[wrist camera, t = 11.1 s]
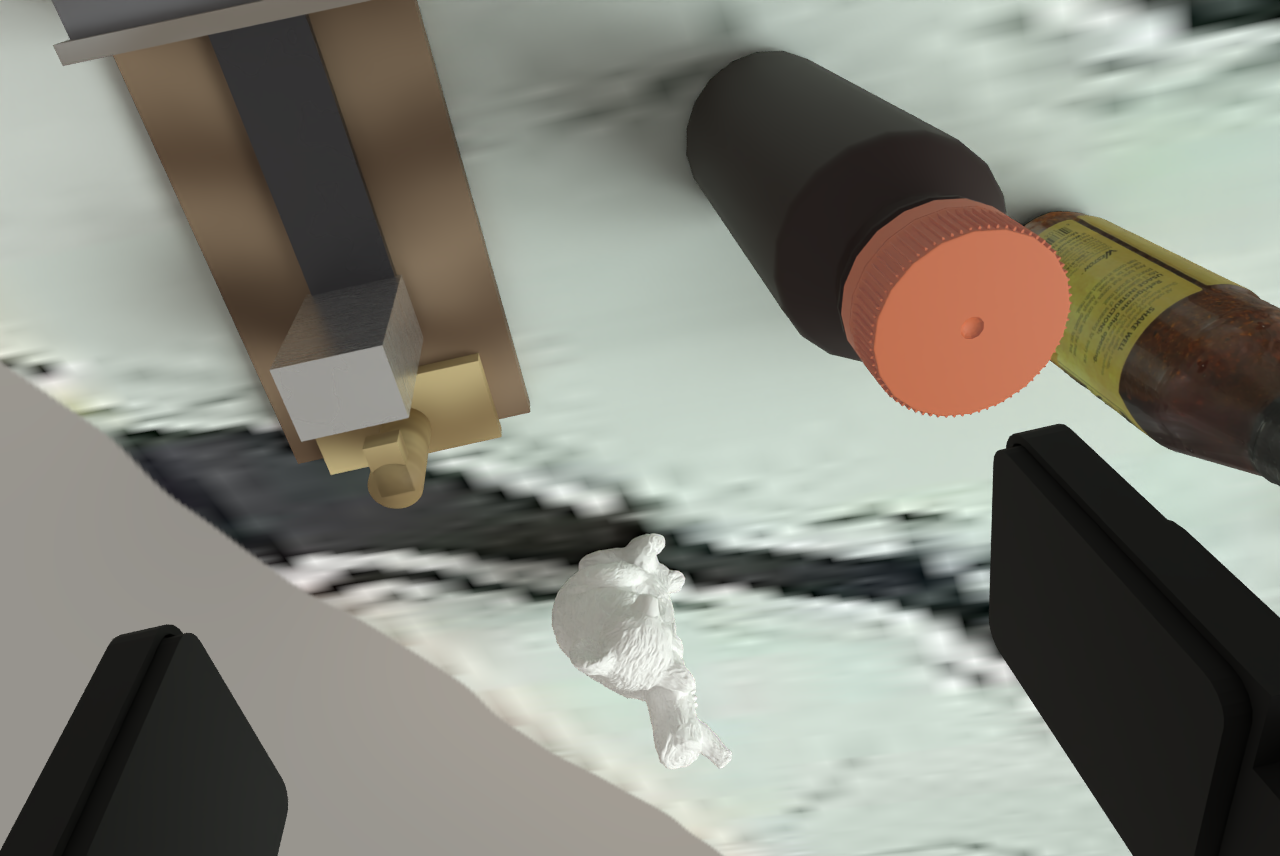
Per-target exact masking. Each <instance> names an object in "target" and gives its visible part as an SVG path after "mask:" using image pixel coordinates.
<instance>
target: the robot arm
mask: <svg viewBox="0 0 1280 856" xmlns="http://www.w3.org/2000/svg"><path fill="white" fill-rule="evenodd" d="M989 625H990V630H991V634H992V637H993V640H994V642H995V645H996V647H997V648H998V650H999V652H1000V654H1001V655H1002V657H1003V658H1004V660H1005V661H1006V663H1007V664H1008V666H1009V667H1010V669H1011V670H1012V672H1013V673H1014V675H1015V676H1016V678H1017V680H1018V681H1019V683H1020V684H1021V686H1022V687H1023V689H1024V690H1025V692H1026V693H1027V695H1028V696H1029V698H1030V699H1031V701H1032V702H1033V704H1034V705H1035V707H1036V709H1037V710H1038V712H1039V713H1040V715H1041V716H1042V718H1043V719H1044V721H1045V722H1046V724H1047V725H1048V727H1049V728H1050V730H1051V731H1052V733H1053V734H1054V736H1055V737H1056V739H1057V741H1058V742H1059V744H1060V745H1061V747H1062V748H1063V750H1064V751H1065V753H1066V754H1067V756H1068V757H1069V759H1070V760H1071V762H1072V763H1073V765H1074V766H1075V768H1076V770H1077V771H1078V773H1079V774H1080V776H1081V777H1082V779H1083V780H1084V782H1085V783H1086V785H1087V786H1088V788H1089V789H1090V791H1091V792H1092V794H1093V795H1094V797H1095V798H1096V800H1097V802H1098V803H1099V805H1100V806H1101V808H1102V809H1103V811H1104V812H1105V814H1106V815H1107V817H1108V818H1109V820H1110V821H1111V823H1112V824H1113V826H1114V827H1115V829H1116V830H1117V832H1118V834H1119V835H1120V837H1121V838H1122V840H1123V841H1124V843H1125V844H1126V846H1127V847H1128V849H1129V850H1130V852H1131V853H1132V855H1133V856H1280V617H1278V616H1277V615H1276V614H1275V613H1274V612H1273V611H1272V610H1271V609H1270V608H1269V607H1268V606H1267V605H1266V604H1264V603H1263V602H1262V601H1261V600H1260V599H1259V598H1258V597H1257V596H1256V595H1255V594H1254V593H1253V592H1252V591H1251V590H1249V589H1248V588H1247V587H1246V586H1245V585H1244V584H1243V583H1242V582H1241V581H1240V580H1239V579H1238V578H1237V577H1235V576H1234V575H1233V574H1232V573H1231V572H1230V571H1229V570H1228V569H1227V568H1226V567H1225V566H1224V565H1223V564H1221V563H1220V562H1219V561H1218V560H1217V559H1216V558H1215V557H1214V556H1213V555H1212V554H1211V553H1210V552H1209V551H1207V550H1206V549H1205V548H1204V547H1203V546H1202V545H1201V544H1200V543H1199V542H1198V541H1197V540H1196V539H1195V538H1194V537H1192V536H1191V535H1190V534H1189V533H1188V532H1187V531H1186V530H1185V529H1183V528H1182V527H1181V526H1179V525H1178V524H1176V523H1175V522H1174V521H1170V520H1167V519H1166V518H1165V517H1164V516H1163V515H1162V514H1161V513H1160V512H1159V511H1158V510H1156V509H1155V508H1154V507H1153V506H1152V505H1151V504H1150V503H1149V502H1148V501H1147V500H1146V499H1145V498H1144V497H1143V496H1142V495H1141V494H1139V493H1138V492H1137V491H1136V490H1135V489H1134V488H1133V487H1132V486H1131V485H1130V484H1129V483H1128V482H1127V481H1126V480H1125V479H1124V478H1122V477H1121V476H1120V475H1119V474H1118V473H1117V472H1116V471H1115V470H1114V469H1113V468H1112V467H1111V466H1110V465H1109V464H1108V463H1106V462H1105V461H1104V460H1103V459H1102V458H1101V457H1100V456H1099V455H1098V454H1097V453H1096V452H1095V451H1094V450H1093V449H1092V448H1091V447H1089V446H1088V445H1087V444H1086V443H1085V442H1084V441H1083V440H1082V439H1081V438H1080V437H1079V436H1078V435H1077V434H1076V433H1075V432H1073V431H1072V430H1071V429H1070V428H1069V427H1067V426H1066V425H1064V424H1056V425H1051V426H1047V427H1042V428H1038V429H1033V430H1029V431H1025V432H1020V433H1016V434H1013V435H1011V436H1010V437H1009V439H1008V441H1007V445H1006V449H1002V450H999V451H997V452H996V454H995V456H994V462H993V496H992V530H991V564H990V599H989ZM287 811H288V797H287V791H286V787H285V784H284V782H283V779H282V778H281V776H280V774H279V773H278V771H277V769H276V768H275V766H274V764H273V763H272V761H271V759H270V758H269V756H268V754H267V753H266V751H265V749H264V748H263V746H262V744H261V743H260V741H259V739H258V737H257V736H256V734H255V732H254V731H253V729H252V727H251V726H250V724H249V722H248V721H247V719H246V717H245V716H244V714H243V712H242V711H241V709H240V707H239V706H238V704H237V702H236V700H235V699H234V697H233V695H232V694H231V692H230V690H229V689H228V687H227V685H226V684H225V682H224V680H223V679H222V677H221V675H220V674H219V672H218V670H217V669H216V667H215V665H214V663H213V662H212V660H211V658H210V657H209V655H208V654H207V652H206V650H205V648H204V647H203V645H202V643H201V642H200V640H199V639H198V638H197V636H195V635H194V634H192V633H185V634H183V633H182V632H181V631H180V629H179V628H177V627H176V626H174V625H162V626H158V627H154V628H149V629H144V630H140V631H136V632H132V633H127V634H122V635H119V636H117V637H116V638H114V639H113V640H112V641H111V643H110V644H109V646H108V647H107V649H106V651H105V653H104V655H103V657H102V659H101V661H100V662H99V664H98V666H97V668H96V670H95V672H94V674H93V676H92V678H91V680H90V682H89V683H88V685H87V687H86V689H85V691H84V693H83V695H82V697H81V698H80V700H79V702H78V704H77V706H76V708H75V710H74V712H73V714H72V716H71V717H70V719H69V721H68V724H67V725H66V727H65V729H64V731H63V733H62V735H61V736H60V738H59V740H58V742H57V744H56V746H55V748H54V750H53V752H52V754H51V756H50V757H49V759H48V761H47V763H46V765H45V767H44V769H43V771H42V773H41V774H40V776H39V778H38V780H37V782H36V784H35V786H34V788H33V789H32V791H31V793H30V795H29V797H28V799H27V801H26V803H25V805H24V807H23V808H22V810H21V812H20V814H19V816H18V818H17V820H16V822H15V824H14V826H13V827H12V830H11V831H10V833H9V835H8V837H7V839H6V841H5V843H4V844H3V846H2V849H1V850H0V856H277V855H278V851H279V847H280V842H281V838H282V834H283V829H284V825H285V821H286V817H287Z"/></svg>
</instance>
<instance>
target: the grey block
mask: <svg viewBox="0 0 1280 856" xmlns="http://www.w3.org/2000/svg"><path fill="white" fill-rule="evenodd" d="M208 36H209V39H210V41H211V44H212V46H213V49H214V51H215V54H216V56H217V59H218V61H219V64H220V66H221V69H222V72H223V74H224V77H225V79H226V82H227V84H228V87H229V89H230V92H231V94H232V97H233V99H234V102H235V104H236V107H237V109H238V112H239V114H240V117H241V119H242V122H243V124H244V127H245V129H246V132H247V134H248V137H249V139H250V142H251V144H252V147H253V149H254V152H255V154H256V157H257V159H258V162H259V165H260V167H261V170H262V172H263V175H264V177H265V180H266V182H267V185H268V187H269V190H270V192H271V195H272V197H273V200H274V202H275V205H276V207H277V210H278V212H279V215H280V217H281V220H282V222H283V225H284V227H285V230H286V232H287V235H288V237H289V240H290V242H291V245H292V247H293V250H294V252H295V255H296V258H297V260H298V263H299V265H300V268H301V270H302V273H303V275H304V278H305V280H306V283H307V285H308V288H309V290H310V293H311V294H307V295H306V297H305V299H304V301H303V303H302V305H301V307H300V309H299V311H298V313H297V315H296V317H295V319H294V321H293V323H292V325H291V327H290V330H289V332H288V334H287V336H286V338H285V340H284V342H283V344H282V346H281V348H280V350H279V352H278V354H277V356H276V358H275V360H274V362H273V364H272V366H271V368H270V373H271V375H272V377H273V379H274V382H275V384H276V386H277V388H278V390H279V393H280V395H281V397H282V399H283V402H284V404H285V406H286V408H287V411H288V413H289V415H290V417H291V420H292V422H293V424H294V426H295V429H296V431H297V433H298V435H299V438H300V440H301V442H302V441H307V440H311V439H316V438H321V437H325V436H330V435H334V434H339V433H343V432H348V431H352V430H357V429H361V428H366V427H370V426H375V425H379V424H384V423H388V422H393V421H397V420H402V419H406V418H409V415H410V409H411V404H412V398H413V393H414V387H415V382H416V376H417V371H418V365H419V360H420V354H421V349H422V343H423V336H422V333H421V330H420V327H419V324H418V321H417V318H416V315H415V312H414V309H413V306H412V303H411V300H410V297H409V294H408V291H407V288H406V285H405V282H404V279H403V276H402V274H399V275H397V273H396V270H395V267H394V265H393V262H392V259H391V256H390V253H389V250H388V247H387V244H386V241H385V238H384V235H383V232H382V229H381V226H380V223H379V220H378V218H377V215H376V212H375V209H374V206H373V203H372V200H371V197H370V194H369V191H368V188H367V185H366V182H365V179H364V176H363V173H362V171H361V168H360V165H359V162H358V159H357V156H356V153H355V150H354V147H353V144H352V141H351V138H350V135H349V132H348V129H347V126H346V124H345V121H344V118H343V115H342V112H341V109H340V106H339V103H338V100H337V97H336V94H335V91H334V88H333V85H332V82H331V79H330V77H329V74H328V71H327V68H326V65H325V62H324V59H323V56H322V53H321V50H320V47H319V44H318V41H317V38H316V35H315V32H314V30H313V27H312V24H311V21H310V18H309V15H308V14H305V15H300V16H295V17H291V18H286V19H281V20H276V21H272V22H267V23H262V24H258V25H253V26H248V27H244V28H239V29H234V30H229V31H225V32H220V33H215V34H211V35H208Z"/></svg>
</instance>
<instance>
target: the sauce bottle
mask: <svg viewBox="0 0 1280 856" xmlns="http://www.w3.org/2000/svg"><path fill="white" fill-rule="evenodd" d="M1024 227H1026V228H1027V229H1029V230H1031V231H1032V232H1034V233H1035V234H1037V235H1038V236H1039V237H1041V238H1043V239H1044V240H1046V242H1047V243H1048V244H1050V245H1051V248H1052V249H1054V250H1056V251H1057V252H1056V254H1057V255H1058V256H1060V257H1061V259H1060V260H1059V261H1061V262H1062V263H1064V264H1065V265H1064V266H1063V267H1062V268H1064V269H1065V270H1067V271H1068V272H1067V273H1066V276H1067V277H1068V278H1070V280H1069V281H1068V285H1070V286H1071V288H1070V289H1068V290H1069V293H1071V294H1072V296H1070V297H1069V301H1070V302H1072V304H1070V308H1069V310H1070V311H1071V312H1070V313H1068V317H1067V318H1069V321H1066V325H1065V326H1066V327H1067V329H1064V333H1063V335H1064V337H1062V338H1061V340H1060V342H1059V343H1060V345H1057V347H1056V349H1055V351H1056V352H1055V353H1053V354H1052V356H1051V360H1050V361H1051V362H1053V363H1054V364H1055V365H1057V366H1058V367H1059V368H1061V369H1062V370H1063V371H1064V372H1065V373H1067V374H1068V375H1069V376H1070V377H1071V378H1073V379H1074V380H1076V382H1078V383H1080V385H1082V386H1084V387H1085V388H1087V389H1088V390H1090V391H1091V392H1092V393H1093V394H1094V395H1095V396H1096V397H1098V398H1099V399H1101V400H1102V401H1103V402H1105V404H1107V405H1108V406H1110V407H1111V408H1113V409H1114V410H1115V411H1117V412H1118V413H1119V414H1120V415H1122V416H1123V417H1124V418H1126V419H1127V420H1128V421H1129V422H1130V423H1132V424H1133V425H1134V426H1136V427H1137V428H1138V429H1140V430H1141V431H1142V432H1144V433H1145V434H1146V435H1148V436H1149V437H1151V438H1152V439H1153V440H1155V441H1156V442H1157V443H1159V444H1160V445H1162V446H1164V447H1166V448H1168V449H1170V450H1173V451H1176V452H1179V453H1183V454H1186V455H1190V456H1193V457H1197V458H1200V459H1204V460H1207V461H1211V462H1214V463H1217V464H1221V465H1224V466H1228V467H1231V468H1235V469H1238V470H1242V471H1245V472H1249V473H1252V474H1256V475H1259V476H1263V477H1264V478H1265V479H1267V480H1268V481H1270V482H1271V483H1274V484H1277V485H1279V486H1280V308H1278V307H1276V306H1274V305H1271V304H1270V303H1268V302H1266V301H1264V300H1261V299H1260V298H1259V297H1258V296H1257V295H1256V294H1255V293H1253V292H1252V291H1250V290H1248V289H1247V288H1245V287H1242V286H1240V285H1238V284H1236V283H1234V282H1232V281H1230V280H1228V279H1226V278H1224V277H1222V276H1219V275H1217V274H1215V273H1213V272H1211V271H1209V270H1207V269H1205V268H1203V267H1201V266H1199V265H1197V264H1195V263H1193V262H1191V261H1189V260H1187V259H1185V258H1183V257H1181V256H1179V255H1177V254H1175V253H1173V252H1170V251H1168V250H1166V249H1164V248H1162V247H1160V246H1158V245H1156V244H1154V243H1152V242H1150V241H1148V240H1146V239H1144V238H1142V237H1140V236H1138V235H1136V234H1133V233H1131V232H1129V231H1127V230H1125V229H1123V228H1121V227H1119V226H1117V225H1115V224H1113V223H1111V222H1109V221H1107V220H1104V219H1102V218H1098V217H1094V216H1088V215H1085V214H1082V213H1076V212H1061V211H1060V212H1050V213H1047V214H1045V215H1041V216H1039V217H1037V218H1035V219H1033V220H1032V221H1031V222H1029V223H1027V224H1026V225H1025V226H1024Z"/></svg>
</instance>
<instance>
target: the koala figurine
mask: <svg viewBox="0 0 1280 856" xmlns="http://www.w3.org/2000/svg"><path fill="white" fill-rule="evenodd" d="M664 546H665V539H664V537H663V536H662V535H660V534H654V533H652V534H645V535H641V536H638V537H636V538H634V539H632V540H631V541H630V542H629V544H628V545H627V546H626V547H624V548H612V549H606V550H598V551H595V552H592V553H590V554H587V555H586V556H585V557H583V558H582V559H581V560H580V562H579V571H578V572H576V573H575V574H574V575H573V576H571V577H570V578H569V579H568V580H567V582H565V584H564V585H563V586H562V587H561V589H560V590H559V591H558V593H557V596H556V598H555V602H554V606H553V609H552V611H553V612H552V627H553V630H554V634H555V635H556V640H557V644H559V646H560V648H561V649H562V651H563V652H564V653H565V654H566V655H567V656H568V657H569V658H570V660H571V662H572V664H573V665H574V666H575V667H576V668H577V669H578V670H579V671H582V672H583V673H585V674H586V675H587V676H589V677H591V678H593V680H596V681H597V682H600V684H603V685H604V687H608V688H609V689H611V690H612V691H615V692H616V693H618V694H620V695H622V696H624V697H626V698H634V699H639V700H642V701H646V703H647V706H648V711H649V715H650V720H651V724H652V726H653V736H654V742H655V748H656V750H657V753H658V755H659V760H660V762H661V763H662V764H664V766H665V767H666V768H669V769H676V768H681V767H686V766H689V765H690V764H692V762H693V761H695V760H696V759H697V757H698V756H699V754H700V753H701V754H702V755H704V756H706V757H707V758H708V759H710V760H711V761H712V762H713V763H714V764H715V765H716V766H717V767H718V768H722V767H724V766H725V765H726V764H727V763H728V762H730V761H731V758H732V757H731V755H732V752H731V751H730V750H729V749H728V748H727V747H726V746H725V745H724V744H723V743H722V741H721V739H720V738H719V737H718V735H717V734H716V733H714V732H713V731H712V730H711V728H710V727H709V726H708V725H707V724H706V723H704V722H702V721H701V720H700V719H699V718H698V717H697V713H696V708H697V707H698V704H697V703H696V702H694V701H696V700H697V696H696V695H694V693H695V692H696V689H695V686H696V683H695V679H694V677H693V675H692V674H691V673H690V671H689V670H688V669H687V668H686V666H685V662H684V660H683V658H682V657H683V644H682V640H681V639H680V638H679V637H678V636H677V635H676V624H675V618H674V609H673V604H672V602H671V598H670V594H671V593H675V592H678V591H680V590H681V589H682V586H683V584H684V582H685V577H684V576H683V574H682V573H681V572H680V571H676V570H669V569H668V568H667V567H666V566H664V565H663V564H661V563H659V561H658V558H657V556H656V555H657V554H658V553H660V552H661V551H662V549H663V548H664Z"/></svg>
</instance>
